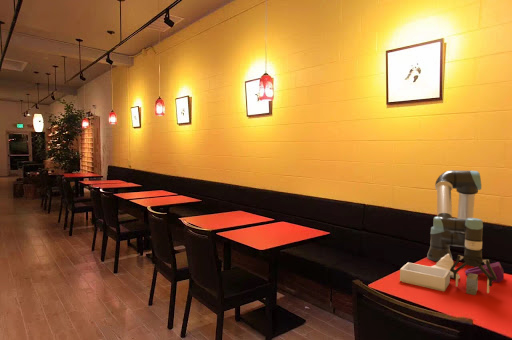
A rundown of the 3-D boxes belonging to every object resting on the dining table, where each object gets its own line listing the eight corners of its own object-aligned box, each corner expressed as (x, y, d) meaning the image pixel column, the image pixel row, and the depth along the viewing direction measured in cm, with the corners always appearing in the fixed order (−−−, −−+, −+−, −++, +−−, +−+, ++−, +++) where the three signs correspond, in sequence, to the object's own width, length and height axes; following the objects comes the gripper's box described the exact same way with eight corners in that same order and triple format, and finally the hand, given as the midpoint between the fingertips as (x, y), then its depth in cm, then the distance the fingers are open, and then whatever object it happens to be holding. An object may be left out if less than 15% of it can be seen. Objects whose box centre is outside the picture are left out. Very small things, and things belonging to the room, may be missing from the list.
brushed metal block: (468, 287, 176) (469, 272, 175) (477, 289, 173) (478, 274, 173) (466, 293, 168) (466, 278, 168) (475, 295, 165) (475, 279, 165)
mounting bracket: (471, 287, 191) (506, 280, 181) (464, 273, 193) (498, 265, 183) (472, 282, 199) (506, 276, 189) (465, 269, 201) (499, 261, 191)
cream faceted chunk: (431, 273, 202) (434, 250, 204) (459, 280, 193) (462, 256, 195) (429, 273, 192) (432, 249, 194) (458, 281, 183) (462, 256, 185)
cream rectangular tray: (407, 273, 196) (407, 262, 196) (449, 282, 182) (450, 270, 182) (399, 281, 184) (400, 269, 183) (444, 291, 170) (444, 278, 169)
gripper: (444, 245, 175) (443, 284, 175) (502, 254, 159) (501, 297, 160) (447, 242, 181) (446, 280, 181) (503, 251, 165) (502, 292, 165)
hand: (472, 288), depth 170 cm, fingers open, 13 cm apart
